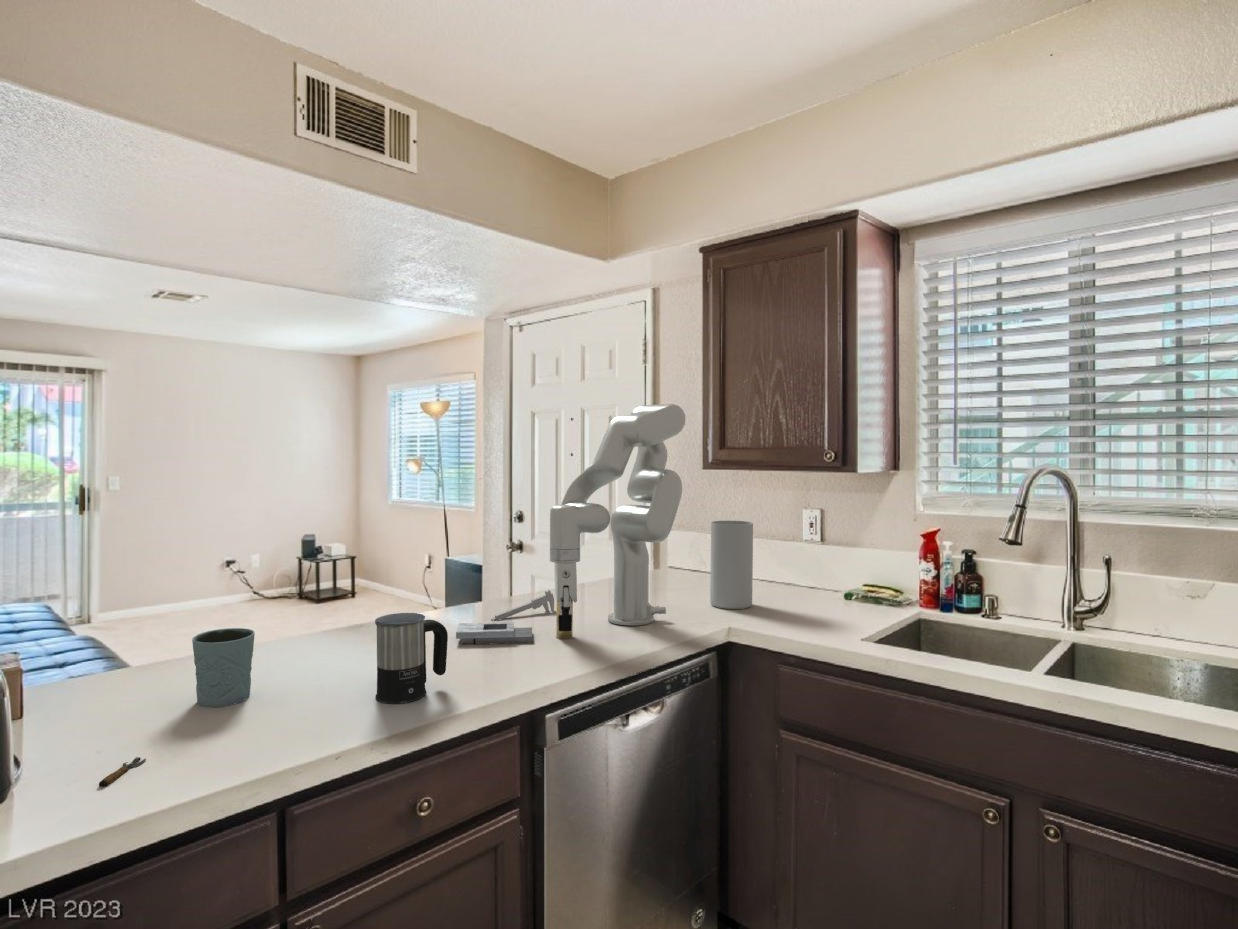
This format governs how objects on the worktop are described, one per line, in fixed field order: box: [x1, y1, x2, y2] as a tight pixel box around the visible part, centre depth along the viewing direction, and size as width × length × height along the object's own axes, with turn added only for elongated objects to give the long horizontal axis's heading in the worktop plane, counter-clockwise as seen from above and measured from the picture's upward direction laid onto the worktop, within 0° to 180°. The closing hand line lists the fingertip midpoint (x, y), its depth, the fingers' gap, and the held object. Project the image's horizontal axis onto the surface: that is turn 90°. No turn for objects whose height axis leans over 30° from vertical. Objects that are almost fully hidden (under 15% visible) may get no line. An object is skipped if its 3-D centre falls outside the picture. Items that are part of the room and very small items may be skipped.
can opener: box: [98, 756, 147, 788], centre depth 102 cm, size 9×2×1 cm, turn 178°
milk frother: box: [374, 612, 449, 705], centre depth 138 cm, size 14×16×15 cm
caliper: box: [490, 589, 555, 622], centre depth 201 cm, size 20×1×6 cm, turn 131°
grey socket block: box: [455, 621, 533, 645], centre depth 175 cm, size 18×9×3 cm, turn 98°
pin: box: [555, 597, 574, 640], centre depth 177 cm, size 4×4×10 cm
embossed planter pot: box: [191, 627, 256, 708], centre depth 132 cm, size 10×10×12 cm
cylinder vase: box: [709, 520, 754, 610], centre depth 215 cm, size 12×12×25 cm
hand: (564, 627), depth 177 cm, fingers closed on pin, 4 cm apart
